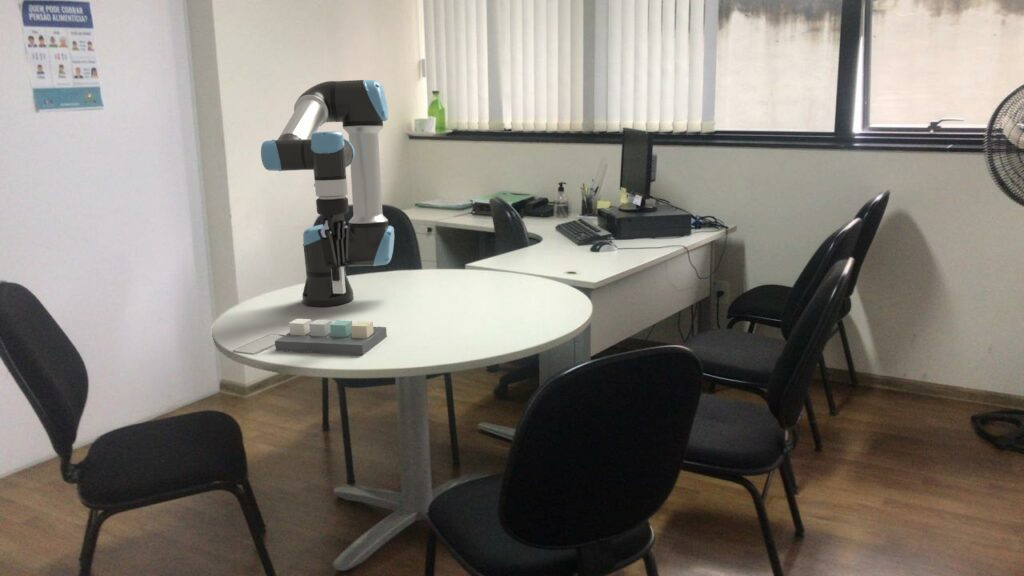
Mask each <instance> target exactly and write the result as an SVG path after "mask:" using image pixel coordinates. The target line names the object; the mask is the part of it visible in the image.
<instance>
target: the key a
mask: <svg viewBox="0 0 1024 576" xmlns="http://www.w3.org/2000/svg"><path fill="white" fill-rule="evenodd" d="M310 323H312V319H311V318H296V319H294V320H292V321H289V322H288V327H289V328H288V329H289V332H290V335H301V336H305V335H306V334H308V333H310V326H309V324H310Z"/></svg>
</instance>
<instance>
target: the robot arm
mask: <svg viewBox="0 0 1024 576" xmlns="http://www.w3.org/2000/svg"><path fill="white" fill-rule="evenodd" d="M387 104H388V103H387V99H386V95H385V91H384V88H383V86H382V84H381V82H379V81H378V80H375V79H373V80H372V79H356V80H354V79H353V80H336V81H335V80H328V81H324V82H320V83H317V84H315V85H314V86H312V87H310V88H308V89H307V90H305V91H304V92H303V93H302V94H301V95H299V97H298V98H297V100H296V101H295V102H294V106H293V113H292V115H291V117H290V118H289V120H288V122H287V123H286V125H285V127H284V128H283V130H282V132H281V133H280V135H279V137H278V138H277V139H271V140H265V141H263V142H262V144H261V146H260V158H261V162H262V165H263V167H264V169H265V170H267V171H272V172H273V171H275V172H277V171H278V172H282V171H283V172H285V171H308V170H309V171H310V170H311V171H313V178H314V184H313V187H314V189H315V196H316V197H318V198H317V199H315V203H316V204H315V205H316V213H317V214H318V215H321V216H322V224H317V225H314V226H310V227H308V228H306V229H305V230H304V231H303V233H302V235H303V237H302V238H303V239H302V240H303V241H302V242H303V244H302V246H303V251H304V252H303V254H304V263H305V273H306V277H305V278H306V279H305V282H304V287H303V291H302V304H303V305H305V306H307V307H308V306H309V307H319V308H320V307H321V308H322V307H332V306H340V305H344V304H347V303H350V302H352V301H353V300H354V299H355V298H354V297H355V295H354V290H353V287H352V285H351V283H350V281H349V278H348V276H347V271H346V267H364V266H365V267H367V266H369V267H371V266H373V267H376V266H385V265H387V264H389V263H390V262H391V260H392V257H393V254H394V245H395V228H394V226H392V225H389V219H388V218H387V217H386V216H385V215H384V214H383V212H384V211H383V198H382V196H383V195H382V182H381V181H382V180H381V179H382V178H381V165H380V164H381V162H380V161H381V159H380V143H379V133H380V131H381V130H382V129H383V128H384V122H386V121H387V120H388V119H389V112H388V111H389V110H388V105H387ZM325 123H342V129H343V130H344V131H346V133H347V134H348V139H346V138H344V135H343V133H342V131H338V130H337V131H335V130H334V131H333V130H332V131H318V129H319V127H321V126H323V125H324V124H325ZM349 166H350V179H351V181H350V182H351V194H352V196H351V197H352V211H353V212H352V213H353V215H352V217H351V218H350V220H348V221H347V222H346V220H345V214H348V213H349V211H350V209H349V198H348V197H346V196H348V194H349V193H348V191H349V190H348V181H347V171H346V168H347V167H349Z"/></svg>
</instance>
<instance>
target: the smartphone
mask: <svg viewBox="0 0 1024 576" xmlns="http://www.w3.org/2000/svg"><path fill="white" fill-rule="evenodd" d="M284 335H285V334H279V333H269V334H267V335H265V336H263V337H260V338H258V339H255V340H253V341H251V342H248V343H246V344H244V345H242V346H238V347H237V348H234V349H233V350H232V353H236V354H237V353H238V354H244V353H245V354H246V355H257V354H260V353H262V352H264V351H266V350H268V349H271V348H273V347H275V341H276V340H277V339H279V338H281V337H283V336H284Z"/></svg>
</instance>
